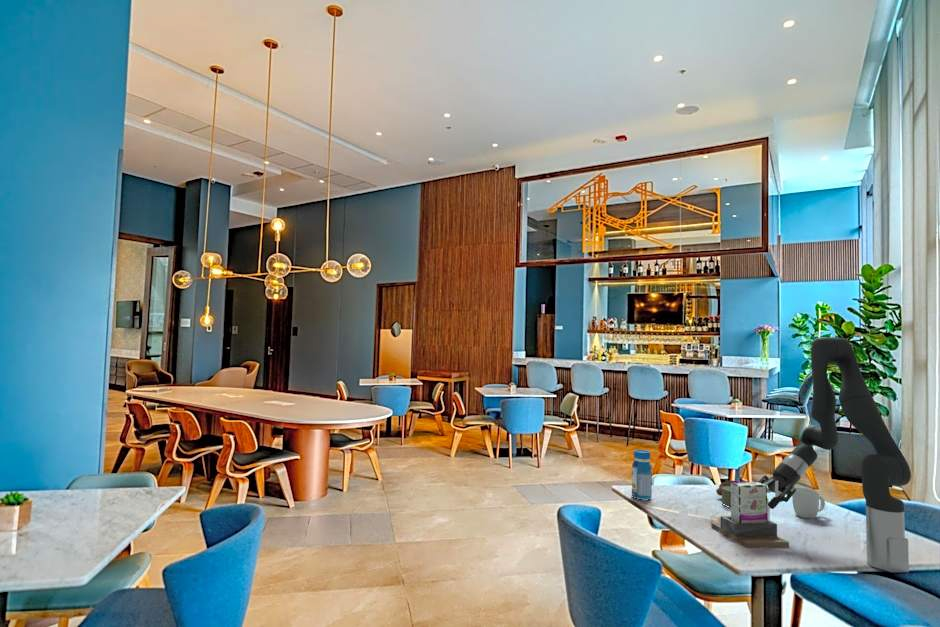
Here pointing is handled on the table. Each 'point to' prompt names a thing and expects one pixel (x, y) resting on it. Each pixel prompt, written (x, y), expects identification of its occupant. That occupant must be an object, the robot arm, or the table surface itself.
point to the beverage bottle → (641, 475)
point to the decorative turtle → (726, 483)
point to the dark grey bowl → (726, 495)
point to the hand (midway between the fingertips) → (761, 503)
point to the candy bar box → (749, 502)
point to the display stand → (751, 533)
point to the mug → (807, 502)
